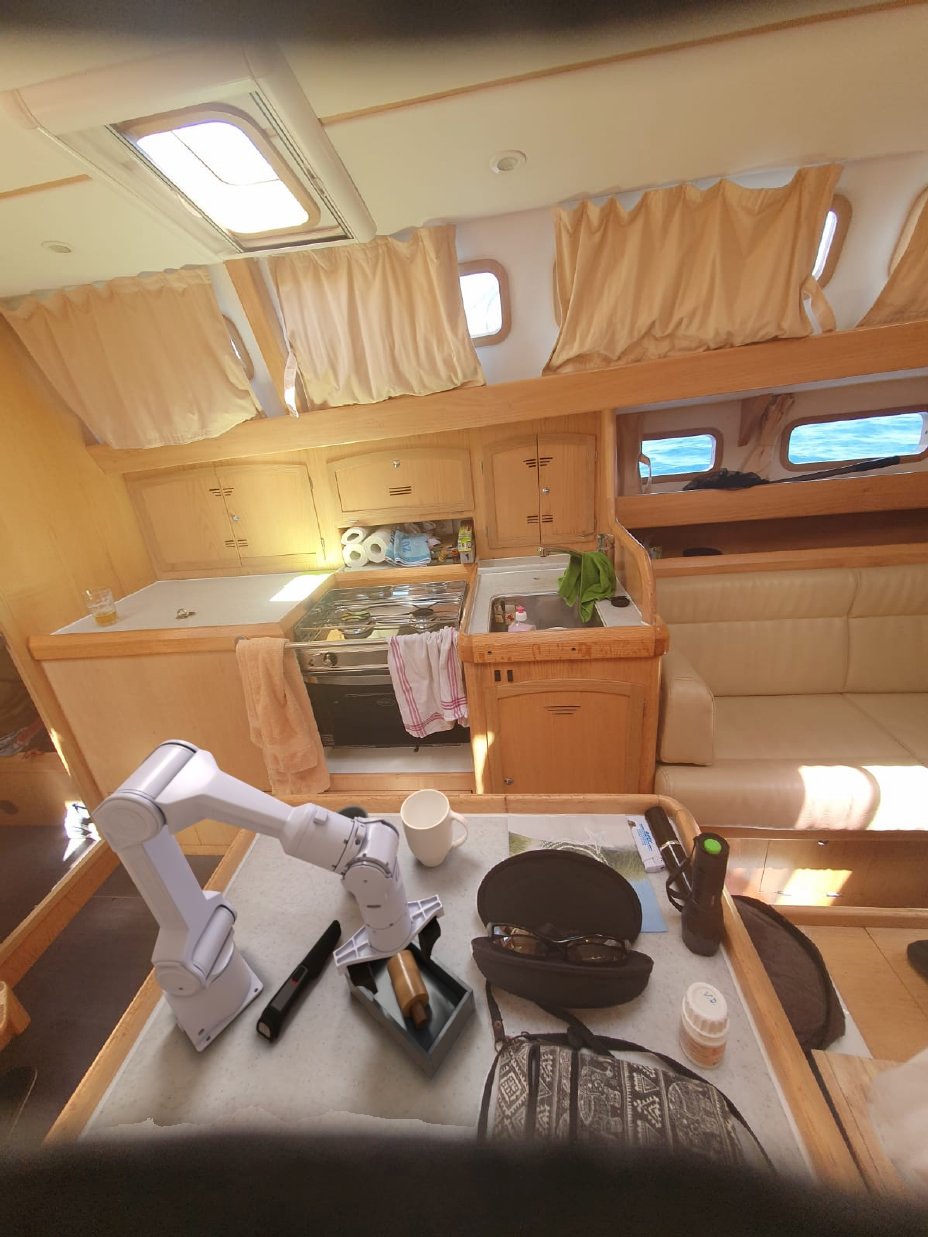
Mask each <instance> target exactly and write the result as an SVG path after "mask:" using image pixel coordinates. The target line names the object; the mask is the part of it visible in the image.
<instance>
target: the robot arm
mask: <svg viewBox="0 0 928 1237" xmlns="http://www.w3.org/2000/svg"><path fill="white" fill-rule="evenodd" d="M90 815H91V817H92V819H93V820H94V822H95V824H96V825H97V828H98V829H99V831H100V832H101V834H102V836H103V837H104V839H105V840H106V842H107V844H108V846H109V847H110V849H111V850H112V852H113V853H115V854H116V855H117V857H118V858H119V860H120V862H121V863H122V865H123V866H124V869H125V870H126V872H127V873H128V875H129V877H130V879H131V881H132V882H133V883H134V886H135V887H136V889H137V890H138V892H139V894H140V895H141V897H142V899H143V900H144V902H145V904H146V905H147V907H148V909H149V910H150V912H151V914H152V916H153V917H154V919H155V920H156V923H157V924H158V926H159V931H158V935H157V937H156V941H155V945H154V948H153V952H152V955H151V961H150V962H151V963H152V965H153V967H154V979H155V982H156V984H157V986H159V988H160V989H161V992H162V994H163V996H164V998H165V1000H166V1002H167V1003H168V1005H169V1007H170V1009H171V1010H172V1012H173V1014H174V1015H175V1017H176V1018H177V1019H176V1020H175V1022H176V1024H177V1025H178V1028H179V1030H180V1031H181V1033H184V1032H185V1033H186V1034H187V1036H188V1038H189V1039H190V1041H191V1043H192V1044H193V1046H194V1047H195V1049H196V1051H197V1052H198V1053H201V1052H203V1051H204V1050H205V1049H206V1048H207V1047H208V1046H209V1045H210V1044H211V1043H212V1042H213V1041H214V1040H215V1039H216V1038H217V1037H218V1036H219V1035H220V1034H221V1033H222V1032H223V1030H225V1029H226V1027H228V1026H229V1025H230V1023H232V1021H234V1020H235V1019H236V1017H238V1015H239V1014H240V1013H242V1011H243V1010H245V1008H246V1007H247V1006H248V1005H249V1004H250V1003H252V1001H253V1000H254V999H255V998H256V997H257V996H258V995H259V994H260V993H261V992H262V991H263V989H264V985H263V983H262V981H261V980H260V978H258V976H257V975H256V973H255V972H254V971H253V970H252V968H251V967H250V966H249V964H248V963H247V962H246V961H245V959H244V957H243V956H242V955H241V953H240V950H239V949H238V946H237V944H236V941H235V940H234V936H235V931H236V930H235V929H234V926H235V923H236V921H237V919H238V912H237V910H236V908H235V907H234V905H233V904H232V903H231V902H229V901H228V900H227V899H226V898H224V896H223V894H222V892H221V891H216V890H211V889H210V890H208V889H207V890H202V888H201V885H200V884H199V882H198V880H197V877H196V875H195V874H194V873H193V870H192V867H191V866H190V864H189V862H188V860H187V858H186V857H185V854H184V852H183V850H182V848H181V847H180V845H179V843H178V841H177V839H176V836H175V835H176V834H178V833H180V832H181V831H184V830H186V829H188V828H190V827H192V826H194V825H196V824H198V823H200V822H202V821H204V820H206V819H208V820H211V821H214V822H218V823H222V824H225V825H229V826H232V827H236V828H240V829H242V830H246V831H250V832H254V833H257V834H260V835H263V836H268V837H271V838H275V839H278V841H279V842H280V846H281V847H282V850H283V852H284V854H285V855H287V856H290V857H293V858H295V859H298V860H300V861H302V862H306V863H308V864H311V865H313V866H315V867H318V868H321V869H324V870H326V871H328V872H332V873H333V874H334V873H335V874H338V875H340V876H341V878H340V879H339V881H340V883H341V885H342V887H344V889H346V890H347V891H348V892H350V893H351V894H353V896H354V897H355V900H356V902H357V904H358V908H359V911H360V914H361V919H362V921H363V926H361V927H360V928H359V929H358V930H357V931H356V932H355V933H354V934H353V935H352V936H351V937H350V938H349V939H348V940H347V941H346V942H345V943H344V944H342V945H341V946H340V947H339V948H337V949H335V950H333V951H332V955H333V959H334V964H335V967H336V970H337V973H338V976H339V977H340V976H342V975H345V974H344V973H345V972H347V970H348V972H349V976H350V980H351V982H352V984H353V985H354V986H355V987H357V986H363V987H366V988H367V989H369V990H370V991H371V992H372V993H373V995H375V994H376V993H378V989H377V986H376V983H375V979H374V976H373V973H372V970H371V968H370V965H369V963H368V961H371V960H376V959H381V958H386V957H391V956H394V955H396V954H398V953H400V952H401V951H403V950H404V949H405V948H406V947H407V946H408V944H409V943H410V942H411V941H412V940H413V939H415V938H416V937H417V938H418V939H417V940H418V943H419V945H420V949H421V951H422V954H423V956H424V959H425V961H426V963H427V962H428V961H430V958H431V954H433V949H434V946H435V944H436V942H437V941H438V939H440V937H441V935H442V930H441V925H440V923H439V921H438V919H440V918H443V917H444V916H445V911H444V905H443V904H442V902H441V899H440V897H439V895H438V894H435V895H432V896H430V897H428V898H424V899H419V900H414V901H409V902H408V901H407V896H406V895H407V894H406V890H405V886H404V882H403V877H402V876H403V875H402V872H401V869H400V864H399V860H398V857H397V854H398V849H399V844H400V832H399V830H398V828H397V827H396V826H395V825H394V824H393V823H391V822H390V821H388V820H386V819H385V818H383V817H374V816H373V817H369V818H361V817H355V818H354V819H350V818H348V817H345V816H343V815H340V814H338V813H335V811H333V810H330V809H328V808H326V807H323V806H320V805H318V804H315V803H313V802H306V803H303V804H300V805H297V806H292V805H291V804H287V803H286V802H283V801H282V800H280V799H278V798H276V797H274V796H272V795H270V794H268V793H266V792H264V791H262V790H260V789H258V788H256V787H254V786H252V785H250V784H248V783H247V782H244V781H242V780H240V779H238V778H236V777H234V776H232V775H230V774H229V773H227V772H224V771H222V770H221V769H220V768H219V766H218V763H217V760H216V758H215V757H214V756H213V754H212V753H211V751H208V750H206V749H205V750H204V749H201V748H199V747H198V746H196V745H195V744H193V743H191V742H189V741H186V740H182V739H167V740H165V741H163V742H161V743H160V744H159V745H158V746H157V747H156V748H155V749H153V750H152V751H151V752H150V754H148V756H146V757H145V758H144V759H143V761H142V762H141V764H140V765H138V767H137V768H136V770H134V772H133V773H132V774H130V776H129V777H127V778H126V779H125V781H124V782H123V783H121V784H120V786H119V787H118V788H117V789H116V790H115V791H114V792H112V794H111V795H109V796H108V797H106V798H105V799H104V800H103V801H102V802H101V803H100V804H98V806H97V807H96V808H95V809H94V810H93V811H92V812H91V814H90ZM233 925H234V926H233Z"/></svg>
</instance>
